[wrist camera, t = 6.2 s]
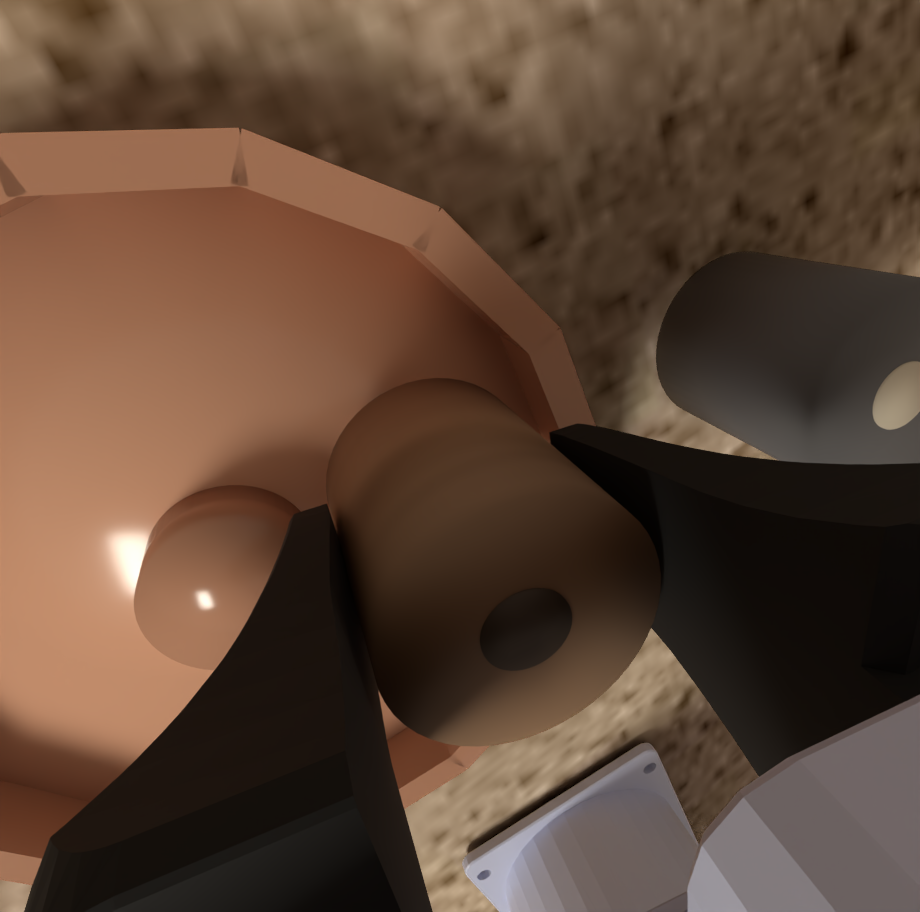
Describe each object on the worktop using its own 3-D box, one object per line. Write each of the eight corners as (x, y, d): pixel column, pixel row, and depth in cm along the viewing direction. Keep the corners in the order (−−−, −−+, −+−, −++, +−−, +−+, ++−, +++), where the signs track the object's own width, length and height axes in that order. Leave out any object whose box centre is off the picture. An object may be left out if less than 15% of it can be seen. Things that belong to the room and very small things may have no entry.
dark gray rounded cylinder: (804, 366, 18) (988, 429, 13) (677, 442, 17) (823, 532, 13) (783, 220, 16) (995, 238, 11) (637, 303, 15) (798, 356, 11)
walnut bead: (554, 498, 14) (693, 641, 10) (392, 599, 14) (461, 793, 10) (476, 337, 12) (610, 429, 8) (282, 453, 12) (306, 618, 7)
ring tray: (630, 593, 19) (673, 640, 17) (144, 892, 18) (132, 978, 16) (383, -34, 11) (413, -78, 9) (-570, 439, 9) (-776, 507, 8)
